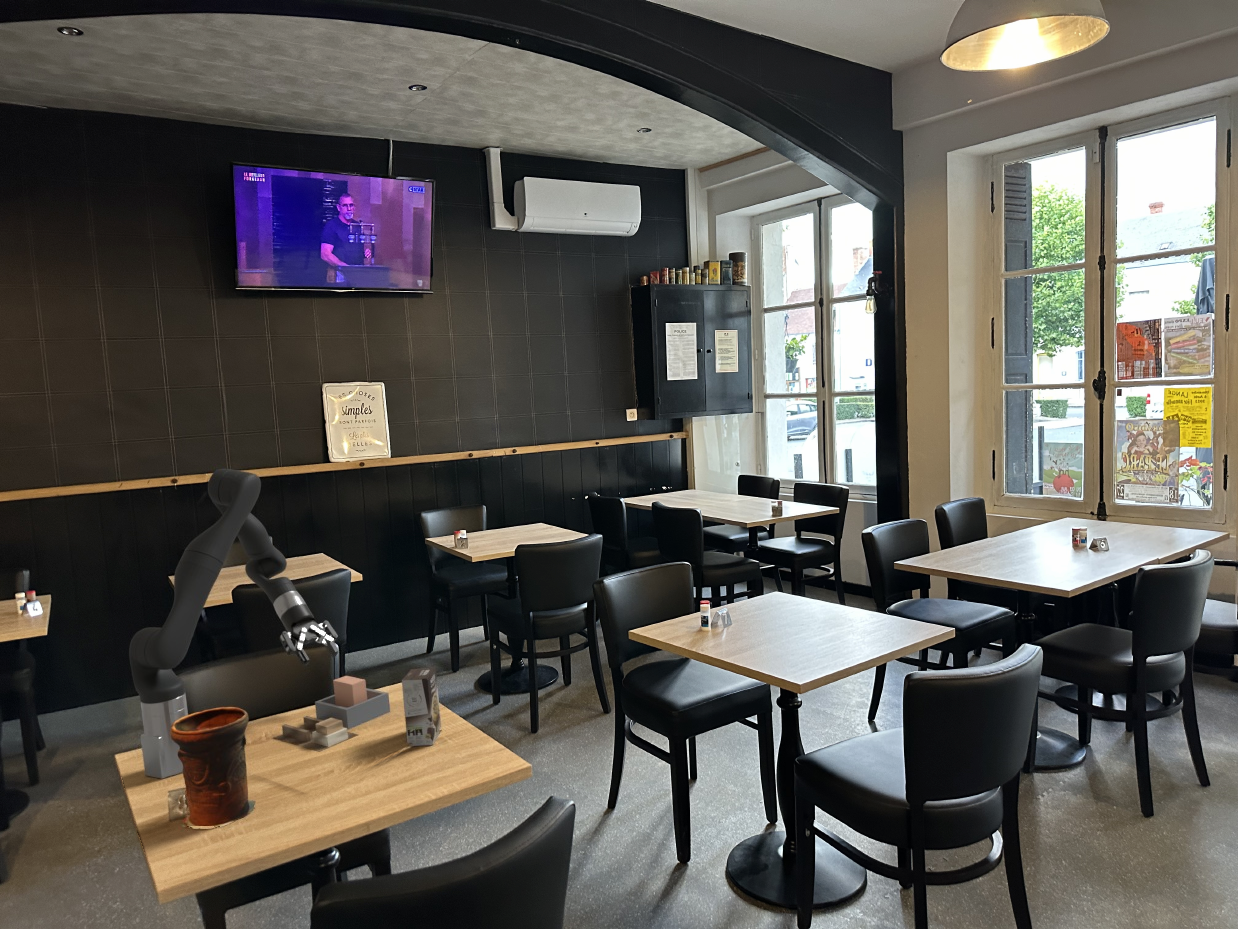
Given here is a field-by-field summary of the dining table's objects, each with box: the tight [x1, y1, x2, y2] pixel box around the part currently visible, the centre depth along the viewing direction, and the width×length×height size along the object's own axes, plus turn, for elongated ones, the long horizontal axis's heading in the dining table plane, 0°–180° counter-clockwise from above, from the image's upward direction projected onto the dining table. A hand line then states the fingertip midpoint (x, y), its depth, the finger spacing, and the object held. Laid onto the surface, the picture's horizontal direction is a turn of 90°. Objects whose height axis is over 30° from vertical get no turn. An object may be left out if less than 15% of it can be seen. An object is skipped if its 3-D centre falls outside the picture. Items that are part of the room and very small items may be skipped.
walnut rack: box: [273, 715, 359, 753], centre depth 212 cm, size 19×11×4 cm, turn 54°
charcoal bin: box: [314, 687, 391, 731], centre depth 224 cm, size 13×13×6 cm
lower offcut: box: [312, 727, 349, 748], centre depth 208 cm, size 6×6×2 cm
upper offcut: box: [316, 718, 343, 735], centre depth 208 cm, size 4×4×2 cm
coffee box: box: [401, 666, 443, 747], centre depth 207 cm, size 9×6×16 cm
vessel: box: [170, 706, 256, 829], centre depth 176 cm, size 14×14×20 cm
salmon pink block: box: [332, 675, 367, 708], centre depth 224 cm, size 8×4×10 cm, turn 53°
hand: (321, 659), depth 229 cm, fingers open, 8 cm apart
